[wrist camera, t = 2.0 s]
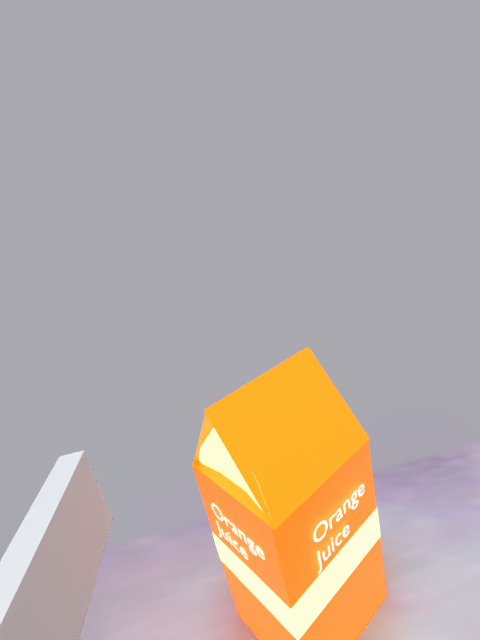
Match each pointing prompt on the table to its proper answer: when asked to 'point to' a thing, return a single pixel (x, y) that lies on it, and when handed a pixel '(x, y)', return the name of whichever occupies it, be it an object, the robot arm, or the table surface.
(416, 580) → the table surface
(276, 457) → the orange juice
